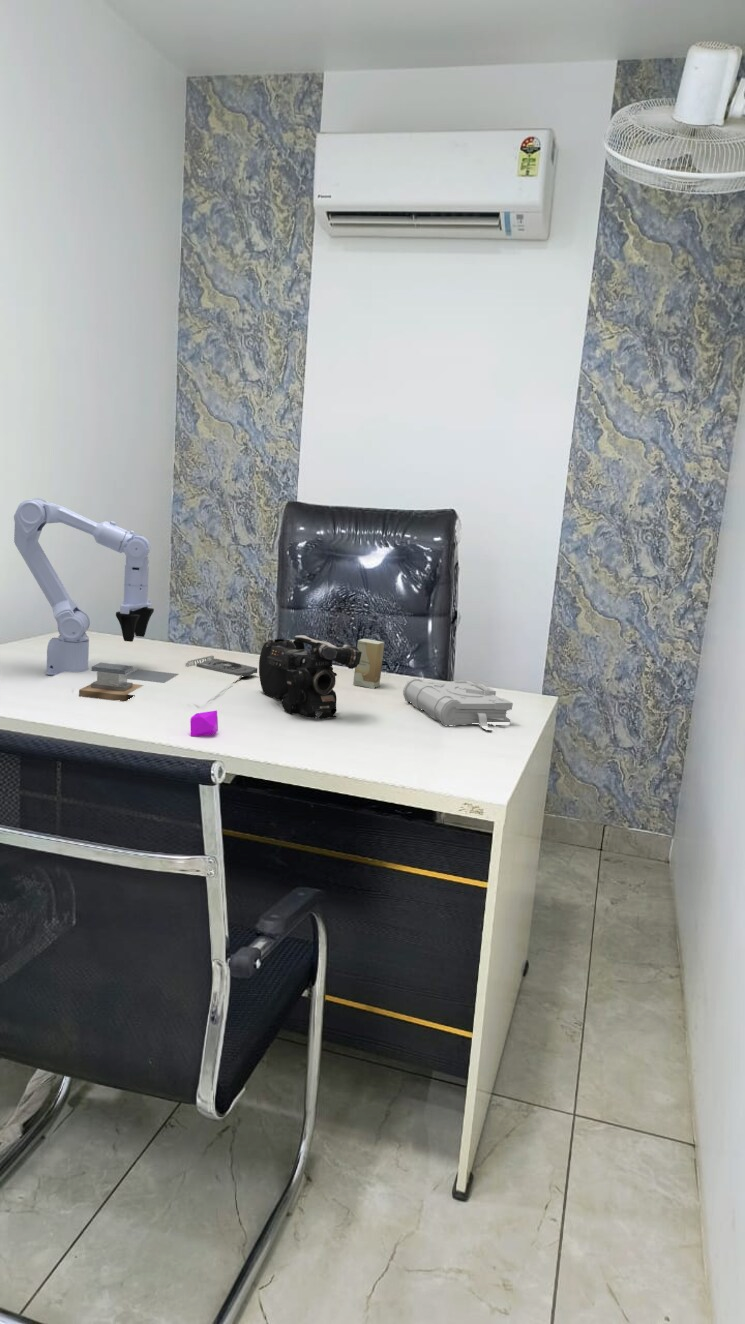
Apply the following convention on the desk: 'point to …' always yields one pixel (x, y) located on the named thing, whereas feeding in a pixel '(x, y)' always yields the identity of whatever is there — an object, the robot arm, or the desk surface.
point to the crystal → (204, 723)
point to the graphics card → (223, 666)
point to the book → (457, 701)
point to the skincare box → (369, 663)
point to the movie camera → (304, 674)
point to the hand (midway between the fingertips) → (134, 638)
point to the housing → (112, 677)
